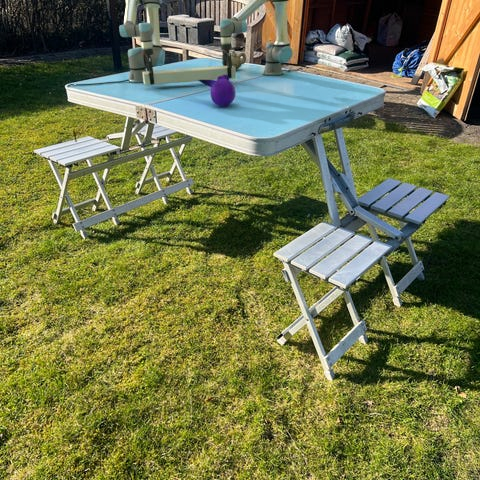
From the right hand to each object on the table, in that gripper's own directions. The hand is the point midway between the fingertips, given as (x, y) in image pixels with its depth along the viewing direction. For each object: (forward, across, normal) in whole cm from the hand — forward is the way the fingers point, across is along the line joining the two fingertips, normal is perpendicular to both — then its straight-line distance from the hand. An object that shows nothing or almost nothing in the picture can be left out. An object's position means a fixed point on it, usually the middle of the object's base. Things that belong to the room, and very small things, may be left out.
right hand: (227, 76), depth 326 cm
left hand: (-1, 0, +55) cm, 55 cm away
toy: (+4, -60, +23) cm, 64 cm away
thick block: (0, 0, +28) cm, 28 cm away
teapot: (+5, +47, -19) cm, 51 cm away
